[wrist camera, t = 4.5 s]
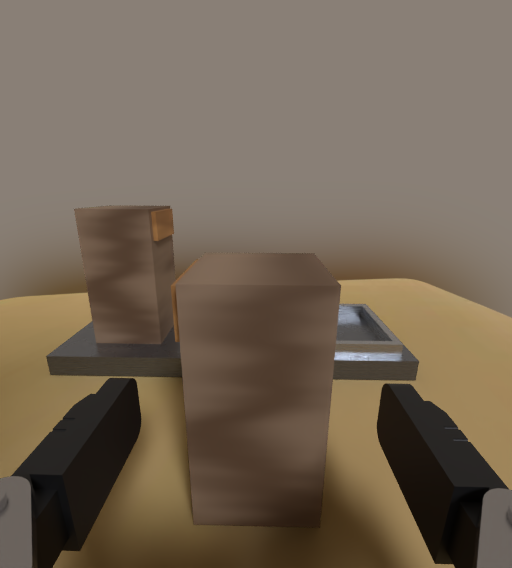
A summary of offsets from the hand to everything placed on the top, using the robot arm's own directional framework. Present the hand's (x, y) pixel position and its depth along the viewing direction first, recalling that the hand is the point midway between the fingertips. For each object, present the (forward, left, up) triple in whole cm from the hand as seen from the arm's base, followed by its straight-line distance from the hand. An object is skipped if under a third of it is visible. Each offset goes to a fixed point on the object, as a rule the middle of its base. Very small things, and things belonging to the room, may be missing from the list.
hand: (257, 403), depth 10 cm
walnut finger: (0, +3, -6) cm, 7 cm away
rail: (-2, +15, -6) cm, 16 cm away
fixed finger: (-10, +15, -5) cm, 18 cm away
